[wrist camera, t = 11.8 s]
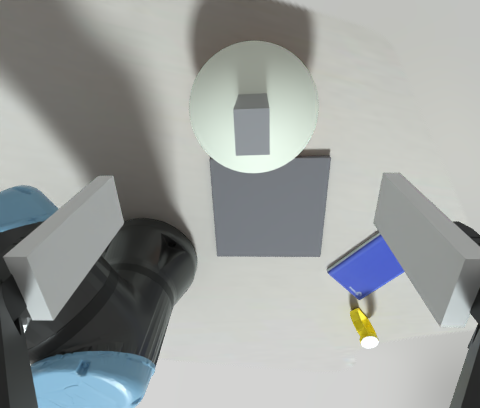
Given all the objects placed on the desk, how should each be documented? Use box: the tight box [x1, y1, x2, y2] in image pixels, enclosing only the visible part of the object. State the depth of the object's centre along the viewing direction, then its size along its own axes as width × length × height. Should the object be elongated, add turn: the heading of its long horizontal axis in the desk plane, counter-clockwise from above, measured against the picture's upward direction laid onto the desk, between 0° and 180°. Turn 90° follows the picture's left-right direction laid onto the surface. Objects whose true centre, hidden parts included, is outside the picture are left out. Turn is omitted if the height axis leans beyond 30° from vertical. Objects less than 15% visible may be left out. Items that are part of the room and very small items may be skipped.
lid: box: [189, 41, 319, 173], centre depth 31 cm, size 14×14×9 cm
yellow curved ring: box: [350, 308, 379, 348], centre depth 52 cm, size 6×3×6 cm, turn 40°
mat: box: [210, 156, 331, 257], centre depth 46 cm, size 16×16×1 cm
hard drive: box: [327, 232, 405, 300], centre depth 49 cm, size 2×8×12 cm
